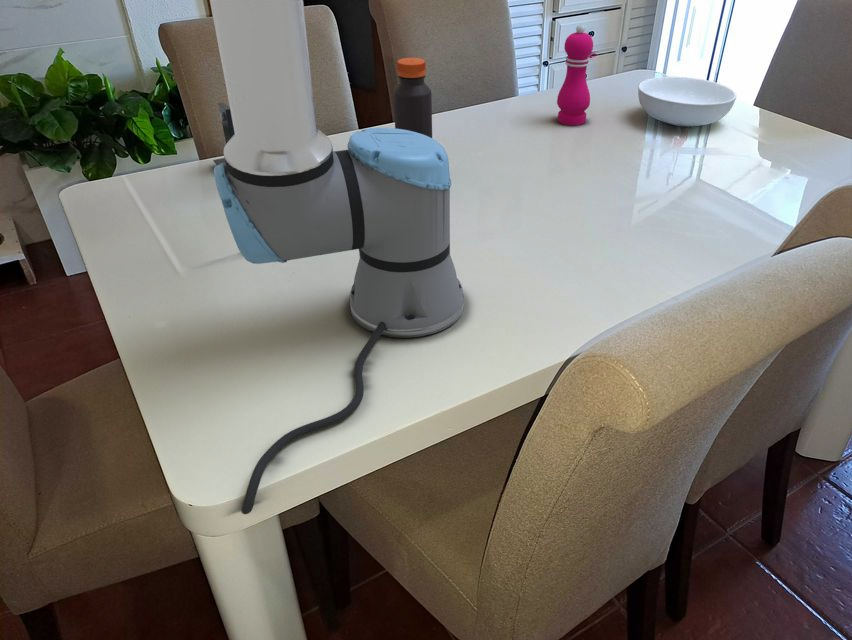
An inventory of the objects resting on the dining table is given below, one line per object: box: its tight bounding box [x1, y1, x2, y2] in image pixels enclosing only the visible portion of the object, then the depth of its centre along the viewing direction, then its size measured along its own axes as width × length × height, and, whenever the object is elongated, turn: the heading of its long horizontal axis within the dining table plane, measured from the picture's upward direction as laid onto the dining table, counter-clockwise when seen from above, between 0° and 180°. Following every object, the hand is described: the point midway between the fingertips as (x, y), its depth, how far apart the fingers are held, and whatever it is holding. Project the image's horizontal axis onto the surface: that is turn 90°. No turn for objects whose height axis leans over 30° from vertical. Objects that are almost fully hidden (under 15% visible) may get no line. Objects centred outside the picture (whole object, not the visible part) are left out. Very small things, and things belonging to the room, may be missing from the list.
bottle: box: [392, 57, 433, 139], centre depth 127 cm, size 7×7×20 cm
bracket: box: [213, 101, 235, 166], centre depth 128 cm, size 12×9×13 cm
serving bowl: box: [637, 76, 737, 128], centre depth 156 cm, size 21×21×7 cm
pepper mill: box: [556, 24, 594, 126], centre depth 151 cm, size 7×7×20 cm
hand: (234, 5), depth 107 cm, fingers closed
